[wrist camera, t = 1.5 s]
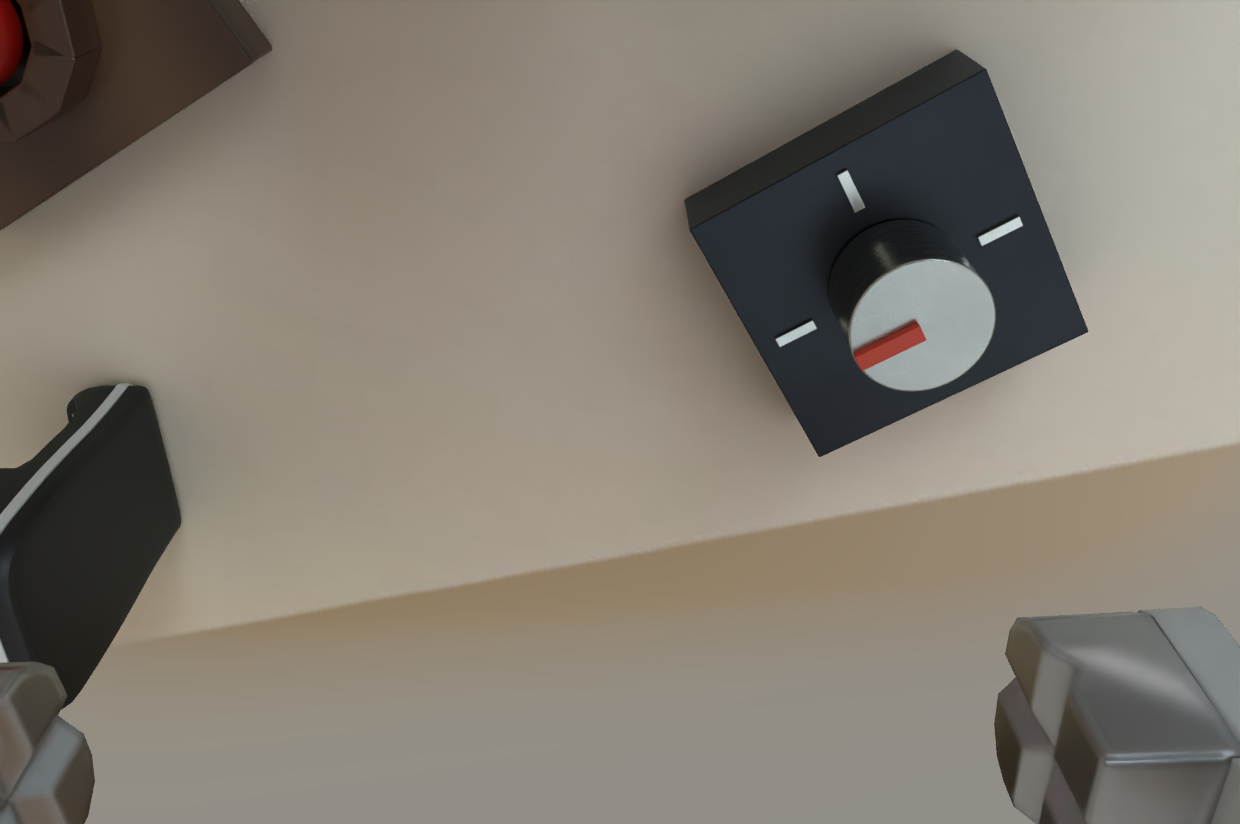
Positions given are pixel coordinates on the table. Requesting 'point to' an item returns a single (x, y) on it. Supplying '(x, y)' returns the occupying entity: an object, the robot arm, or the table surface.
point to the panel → (867, 196)
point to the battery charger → (83, 532)
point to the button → (9, 40)
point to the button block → (107, 83)
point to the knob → (910, 306)
